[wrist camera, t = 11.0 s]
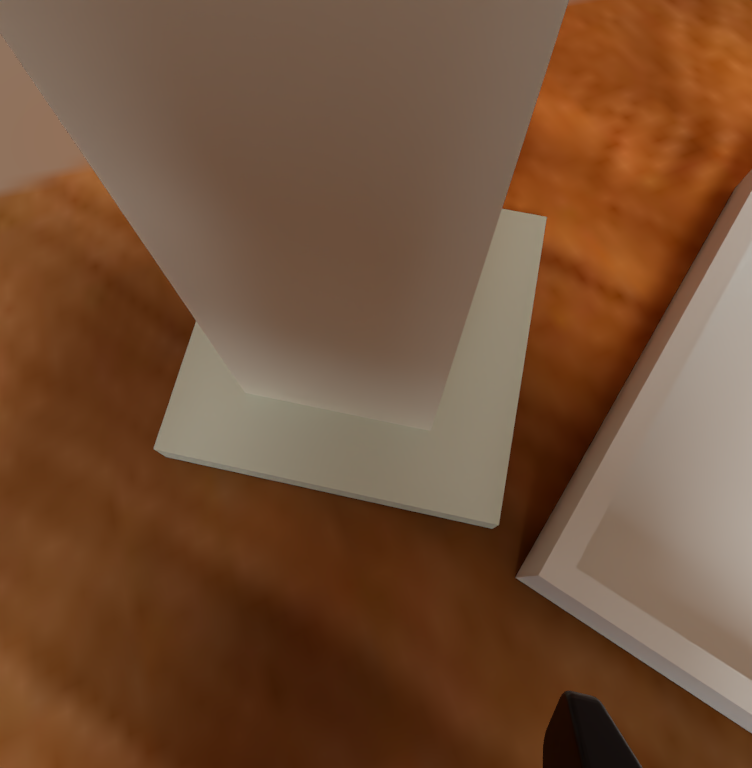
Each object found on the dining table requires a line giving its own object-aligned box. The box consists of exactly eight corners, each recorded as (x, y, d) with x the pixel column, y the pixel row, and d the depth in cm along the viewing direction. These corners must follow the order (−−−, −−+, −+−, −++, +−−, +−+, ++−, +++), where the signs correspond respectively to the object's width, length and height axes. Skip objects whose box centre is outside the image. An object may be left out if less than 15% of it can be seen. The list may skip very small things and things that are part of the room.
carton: (430, 430, 16) (587, -56, 4) (245, 393, 17) (-134, -164, 4) (463, 258, 18) (650, -475, 6) (293, 226, 18) (114, -529, 6)
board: (491, 528, 17) (498, 525, 16) (165, 456, 17) (153, 449, 16) (538, 235, 19) (546, 216, 18) (255, 182, 20) (249, 162, 19)
